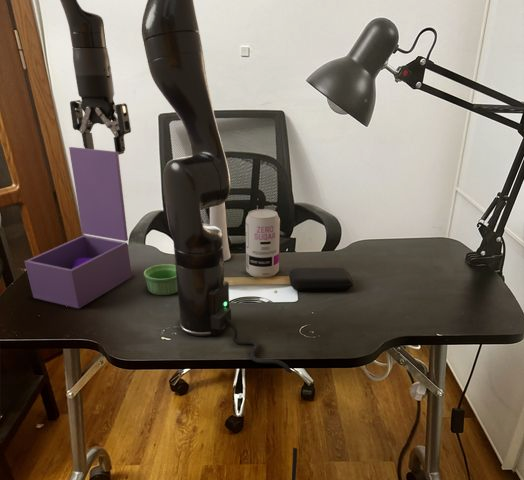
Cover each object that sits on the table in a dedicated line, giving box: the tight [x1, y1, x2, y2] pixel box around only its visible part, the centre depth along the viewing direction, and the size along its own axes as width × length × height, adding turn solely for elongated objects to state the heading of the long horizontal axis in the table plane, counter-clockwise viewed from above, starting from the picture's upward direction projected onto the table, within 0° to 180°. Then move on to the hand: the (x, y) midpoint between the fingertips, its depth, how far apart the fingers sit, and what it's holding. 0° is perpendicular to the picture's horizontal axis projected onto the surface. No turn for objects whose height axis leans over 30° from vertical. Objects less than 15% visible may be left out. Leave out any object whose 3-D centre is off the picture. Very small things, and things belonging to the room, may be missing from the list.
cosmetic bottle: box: [209, 201, 231, 262], centre depth 133 cm, size 6×6×22 cm
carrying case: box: [288, 266, 354, 292], centre depth 124 cm, size 11×3×15 cm
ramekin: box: [143, 263, 178, 296], centre depth 121 cm, size 9×9×4 cm
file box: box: [24, 234, 133, 310], centre depth 120 cm, size 19×13×9 cm
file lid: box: [68, 146, 129, 242], centre depth 122 cm, size 20×13×5 cm
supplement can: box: [245, 208, 281, 279], centre depth 127 cm, size 8×8×15 cm
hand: (105, 152), depth 119 cm, fingers open, 8 cm apart
